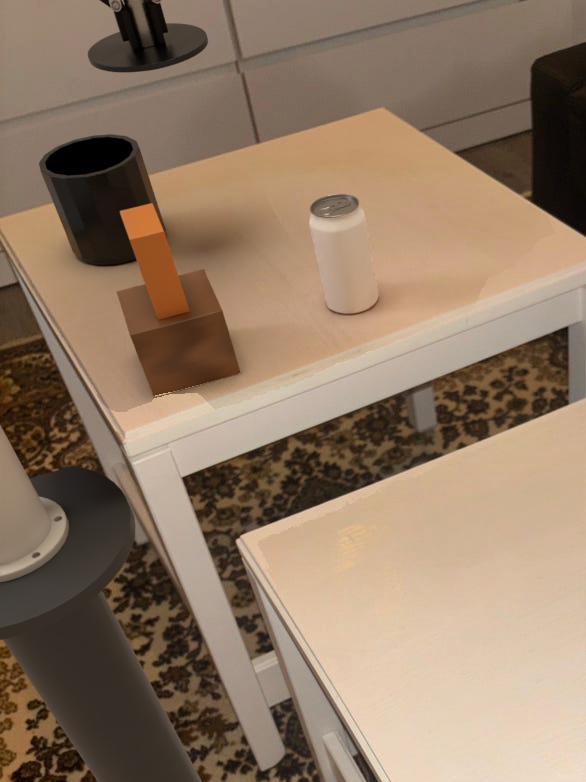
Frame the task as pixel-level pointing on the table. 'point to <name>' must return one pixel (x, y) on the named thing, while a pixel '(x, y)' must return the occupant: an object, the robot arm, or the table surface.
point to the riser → (180, 337)
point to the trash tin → (98, 194)
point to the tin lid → (147, 44)
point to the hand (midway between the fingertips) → (147, 42)
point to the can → (343, 253)
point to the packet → (155, 260)
